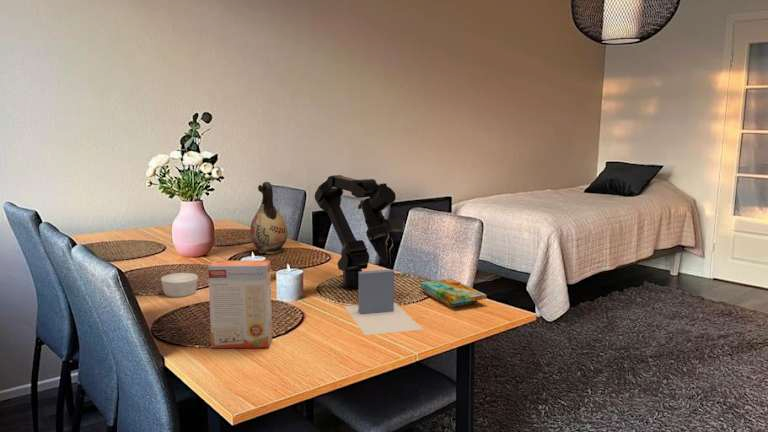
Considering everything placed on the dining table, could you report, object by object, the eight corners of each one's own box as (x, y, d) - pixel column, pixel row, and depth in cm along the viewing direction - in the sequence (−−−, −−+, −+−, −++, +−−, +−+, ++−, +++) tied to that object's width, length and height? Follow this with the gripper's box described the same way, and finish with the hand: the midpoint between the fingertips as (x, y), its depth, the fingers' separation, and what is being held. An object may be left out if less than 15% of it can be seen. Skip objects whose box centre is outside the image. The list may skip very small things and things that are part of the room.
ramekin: (186, 299, 177) (186, 283, 177) (154, 297, 180) (153, 280, 179) (205, 289, 188) (204, 273, 187) (174, 287, 190) (173, 271, 190)
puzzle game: (450, 276, 192) (486, 292, 174) (450, 289, 193) (486, 307, 175) (420, 279, 187) (454, 296, 169) (419, 293, 188) (453, 312, 170)
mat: (343, 307, 172) (343, 306, 172) (394, 303, 176) (394, 302, 176) (365, 336, 149) (365, 335, 149) (423, 330, 154) (423, 329, 154)
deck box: (358, 311, 167) (358, 271, 165) (391, 308, 170) (391, 269, 168) (360, 314, 165) (360, 273, 163) (393, 311, 168) (394, 271, 166)
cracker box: (272, 339, 146) (271, 259, 143) (268, 349, 140) (267, 265, 137) (216, 339, 146) (214, 259, 142) (210, 349, 140) (207, 265, 136)
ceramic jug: (246, 249, 245) (244, 179, 240) (282, 246, 252) (281, 178, 247) (255, 258, 230) (253, 183, 225) (293, 255, 237) (292, 182, 232)
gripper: (395, 200, 170) (411, 250, 165) (400, 216, 188) (415, 261, 183) (359, 211, 170) (374, 261, 166) (368, 226, 188) (381, 272, 184)
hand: (387, 264), depth 175 cm, fingers open, 9 cm apart
